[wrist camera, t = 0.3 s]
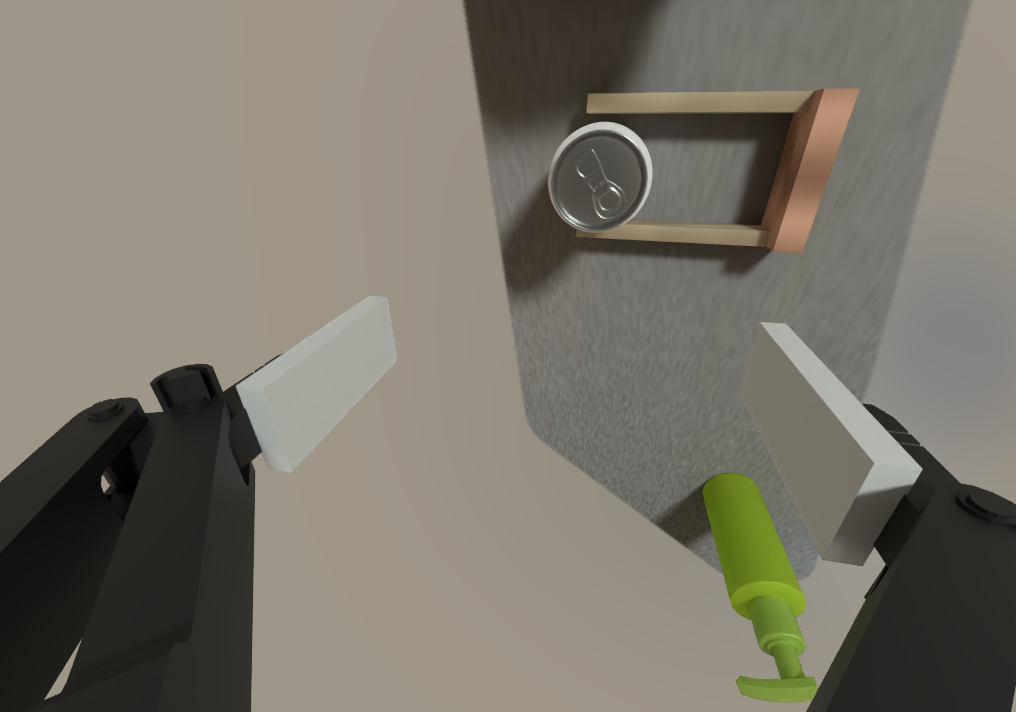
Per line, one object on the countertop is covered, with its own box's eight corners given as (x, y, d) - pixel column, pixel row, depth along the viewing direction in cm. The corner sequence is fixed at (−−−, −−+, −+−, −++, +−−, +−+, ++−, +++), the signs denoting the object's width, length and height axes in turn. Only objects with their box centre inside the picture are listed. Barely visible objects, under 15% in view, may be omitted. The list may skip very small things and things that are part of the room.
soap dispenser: (686, 480, 48) (730, 674, 31) (751, 468, 45) (839, 672, 28) (700, 515, 50) (749, 715, 33) (763, 505, 47) (852, 717, 30)
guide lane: (589, 96, 32) (587, 91, 29) (830, 93, 29) (859, 88, 26) (577, 230, 37) (574, 240, 34) (782, 241, 34) (802, 253, 31)
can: (589, 223, 37) (581, 258, 27) (548, 160, 35) (522, 171, 25) (655, 177, 34) (676, 196, 24) (614, 105, 32) (618, 92, 22)
